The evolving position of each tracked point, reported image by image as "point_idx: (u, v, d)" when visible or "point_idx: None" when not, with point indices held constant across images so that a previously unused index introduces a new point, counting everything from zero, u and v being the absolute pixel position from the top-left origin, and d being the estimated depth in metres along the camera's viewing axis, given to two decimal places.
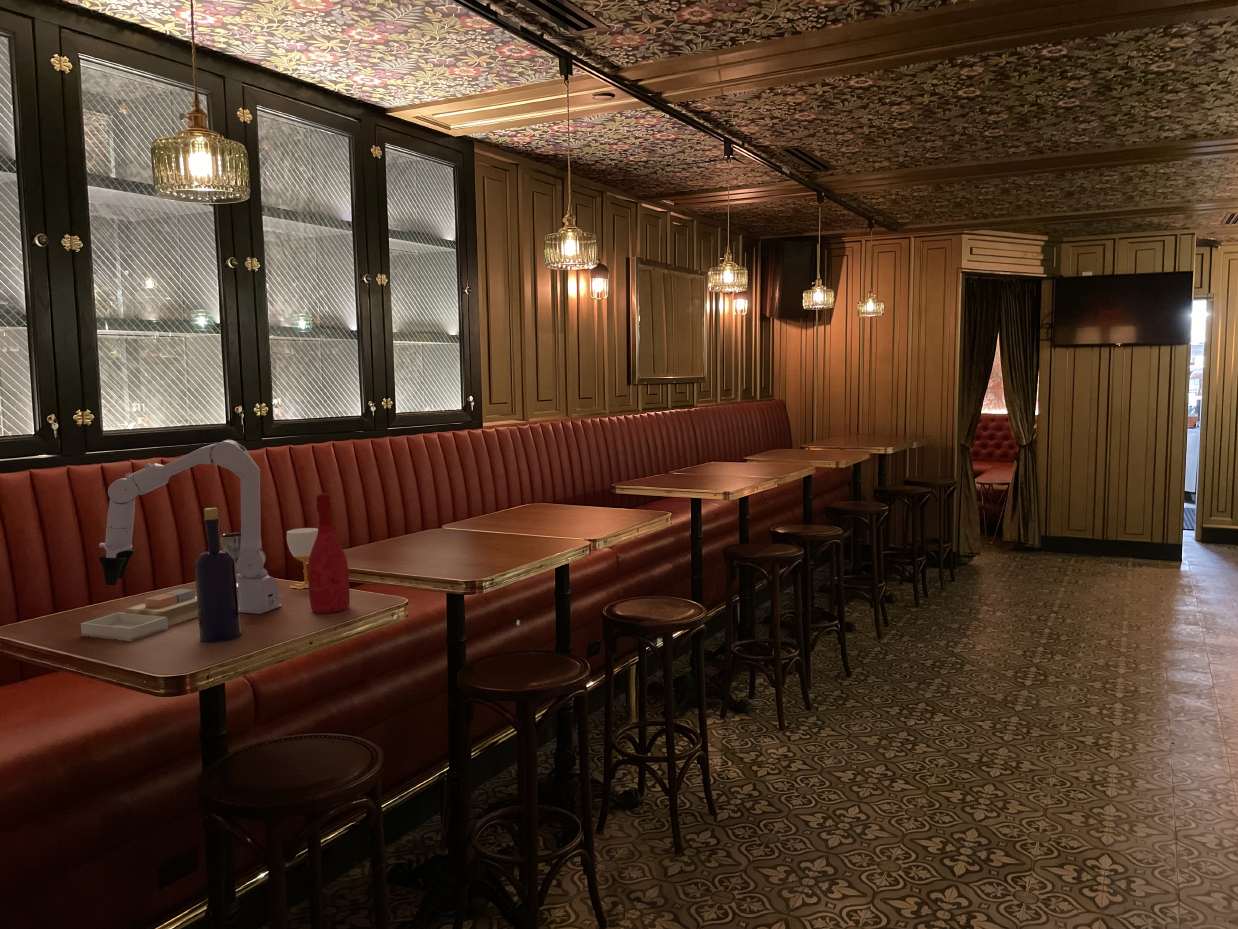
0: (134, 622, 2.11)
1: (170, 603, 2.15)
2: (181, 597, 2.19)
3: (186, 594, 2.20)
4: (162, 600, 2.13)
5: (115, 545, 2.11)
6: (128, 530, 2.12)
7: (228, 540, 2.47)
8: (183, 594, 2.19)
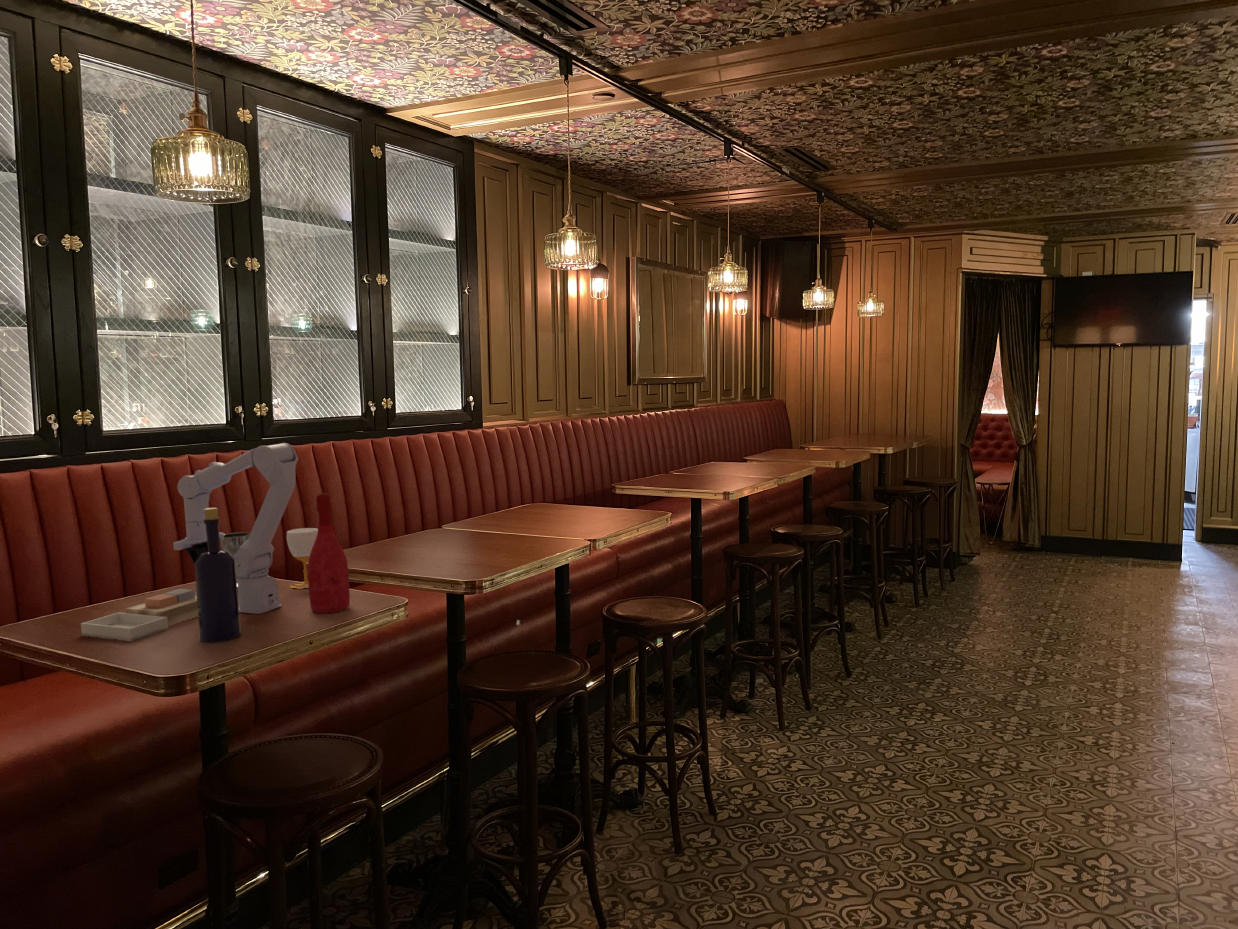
0: (134, 622, 2.11)
1: (170, 603, 2.15)
2: (181, 597, 2.19)
3: (186, 594, 2.20)
4: (162, 600, 2.13)
5: (189, 538, 2.24)
6: (199, 523, 2.24)
7: (228, 540, 2.47)
8: (183, 594, 2.19)
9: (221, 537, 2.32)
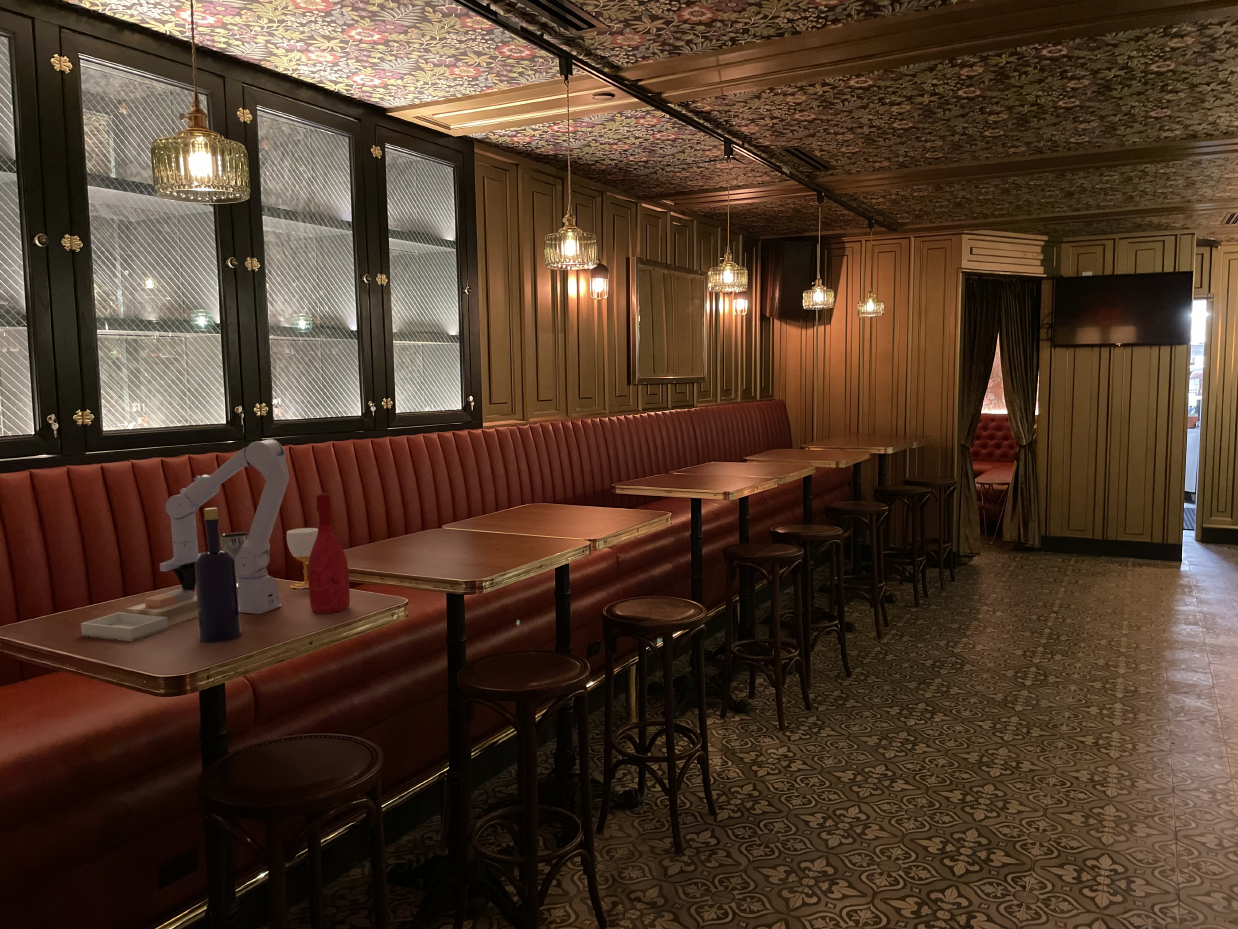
0: (134, 622, 2.11)
1: (170, 603, 2.15)
2: (180, 597, 2.18)
3: (185, 594, 2.19)
4: (162, 600, 2.13)
5: (176, 558, 2.20)
6: (186, 544, 2.20)
7: (228, 540, 2.47)
8: (182, 594, 2.19)
9: None
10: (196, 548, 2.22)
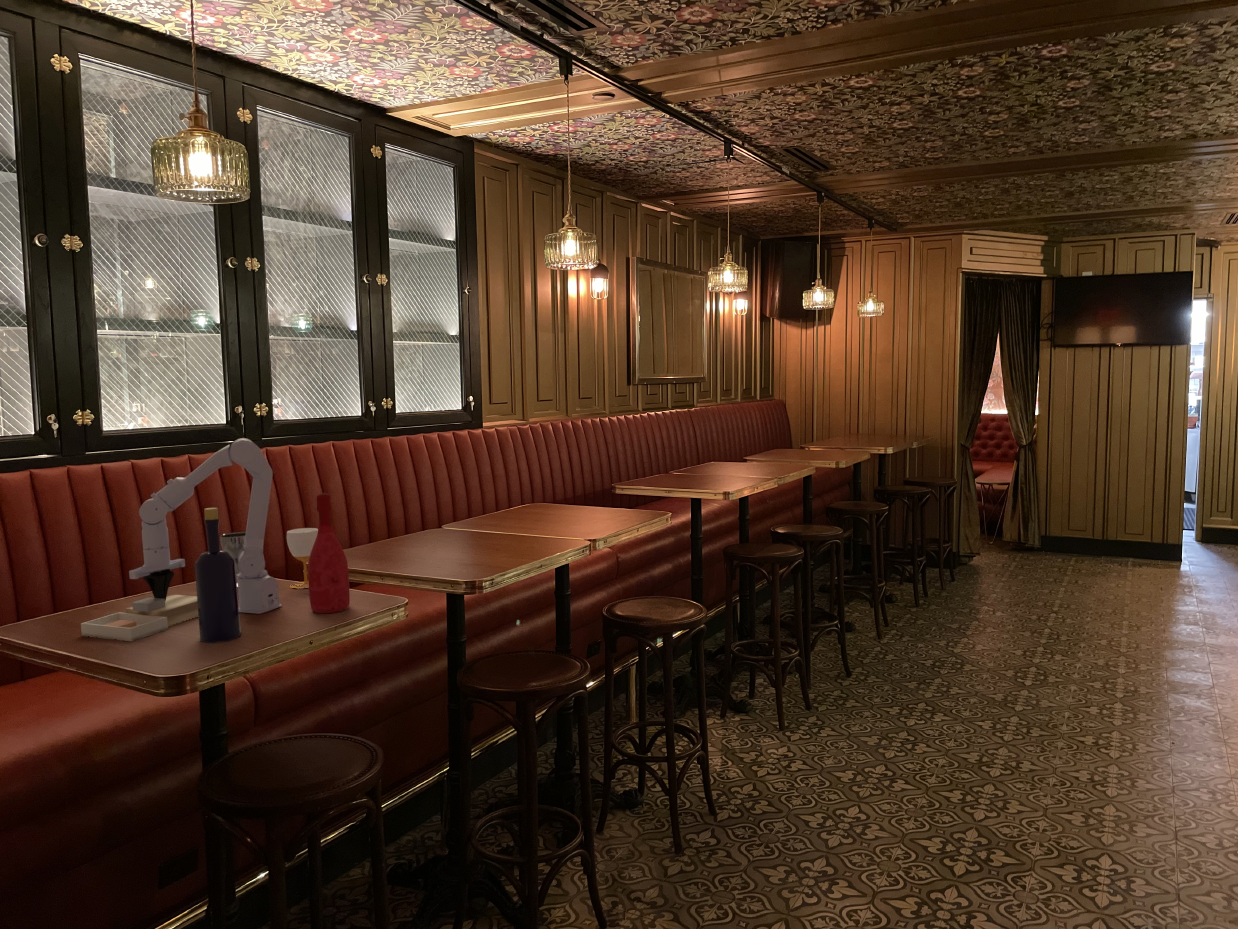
0: None
1: (124, 626, 2.04)
2: (151, 606, 2.10)
3: (156, 603, 2.11)
4: None
5: (147, 566, 2.12)
6: (157, 550, 2.12)
7: (228, 540, 2.47)
8: (152, 603, 2.11)
9: (182, 564, 2.20)
10: (168, 555, 2.14)
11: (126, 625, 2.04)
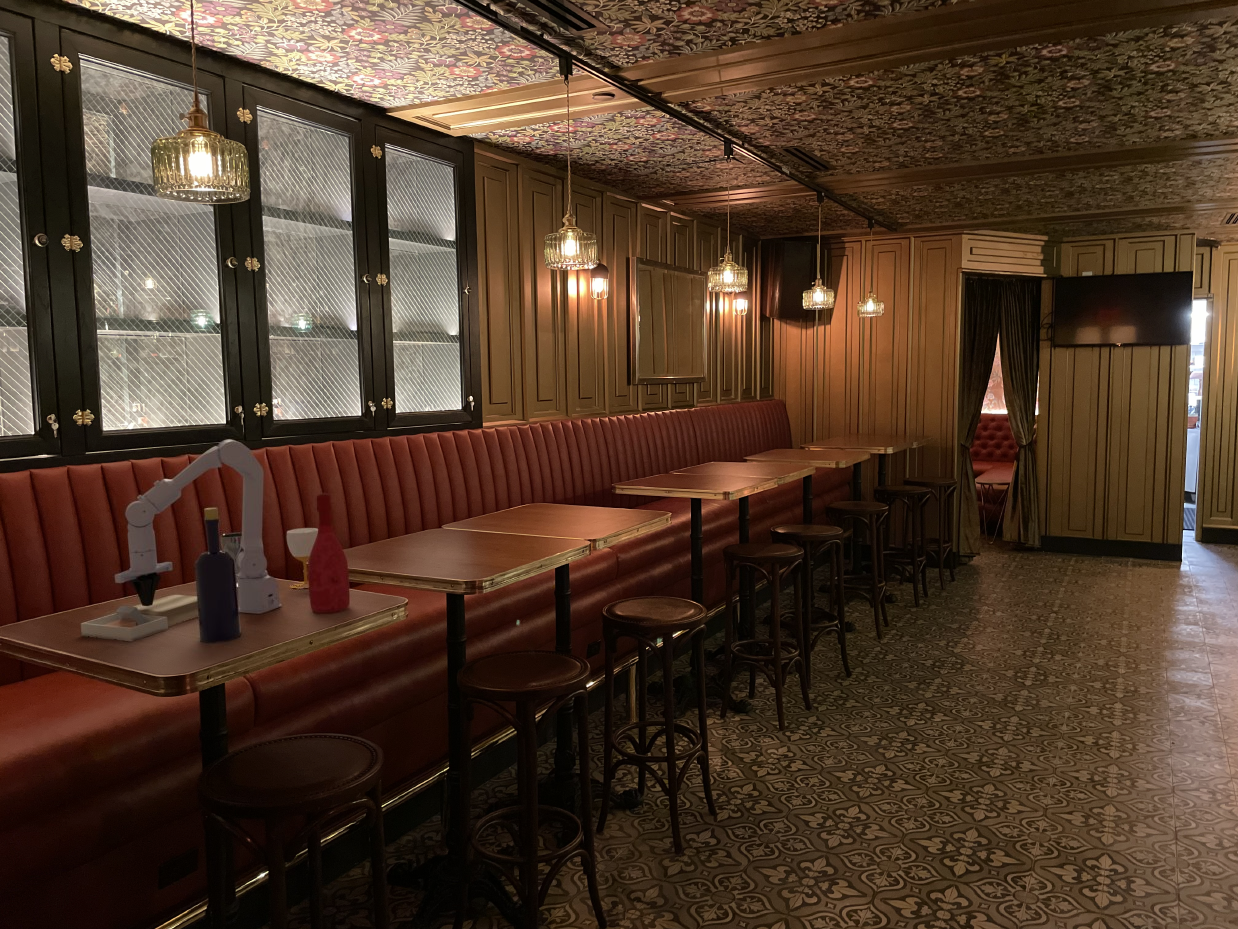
0: None
1: (124, 626, 2.04)
2: (141, 622, 2.08)
3: (137, 619, 2.07)
4: None
5: (133, 569, 2.09)
6: (143, 554, 2.08)
7: (228, 540, 2.47)
8: (138, 622, 2.07)
9: (169, 567, 2.17)
10: (154, 558, 2.11)
11: (126, 625, 2.04)
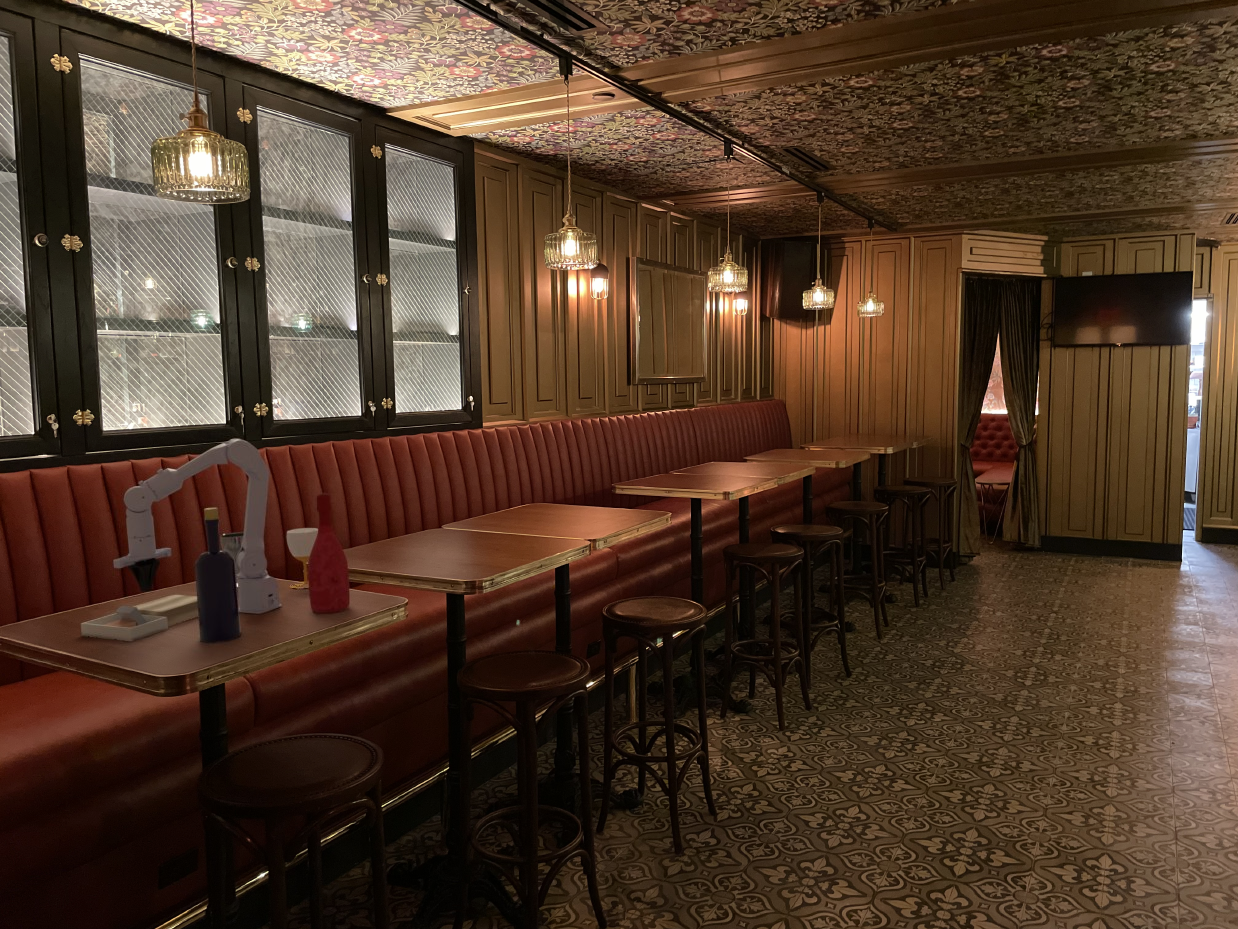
0: None
1: (124, 626, 2.04)
2: (141, 622, 2.08)
3: (137, 619, 2.07)
4: None
5: (132, 555, 2.08)
6: (142, 539, 2.08)
7: (228, 540, 2.47)
8: (138, 622, 2.07)
9: (168, 553, 2.16)
10: (153, 543, 2.10)
11: (126, 625, 2.04)
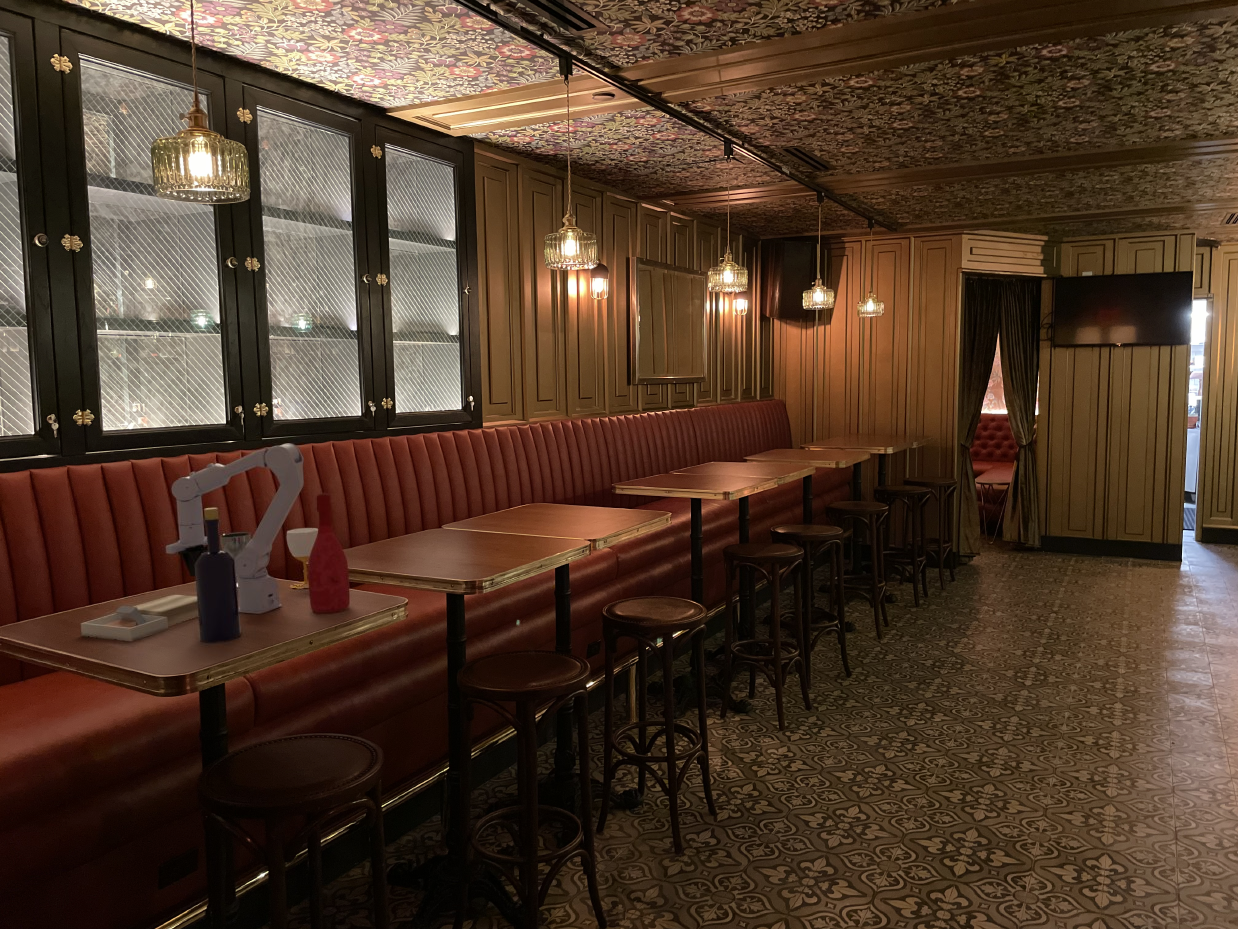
0: None
1: (124, 626, 2.04)
2: (141, 622, 2.08)
3: (137, 619, 2.07)
4: None
5: (183, 541, 2.19)
6: (192, 526, 2.19)
7: (228, 540, 2.47)
8: (138, 622, 2.07)
9: None
10: (202, 531, 2.22)
11: (126, 625, 2.04)
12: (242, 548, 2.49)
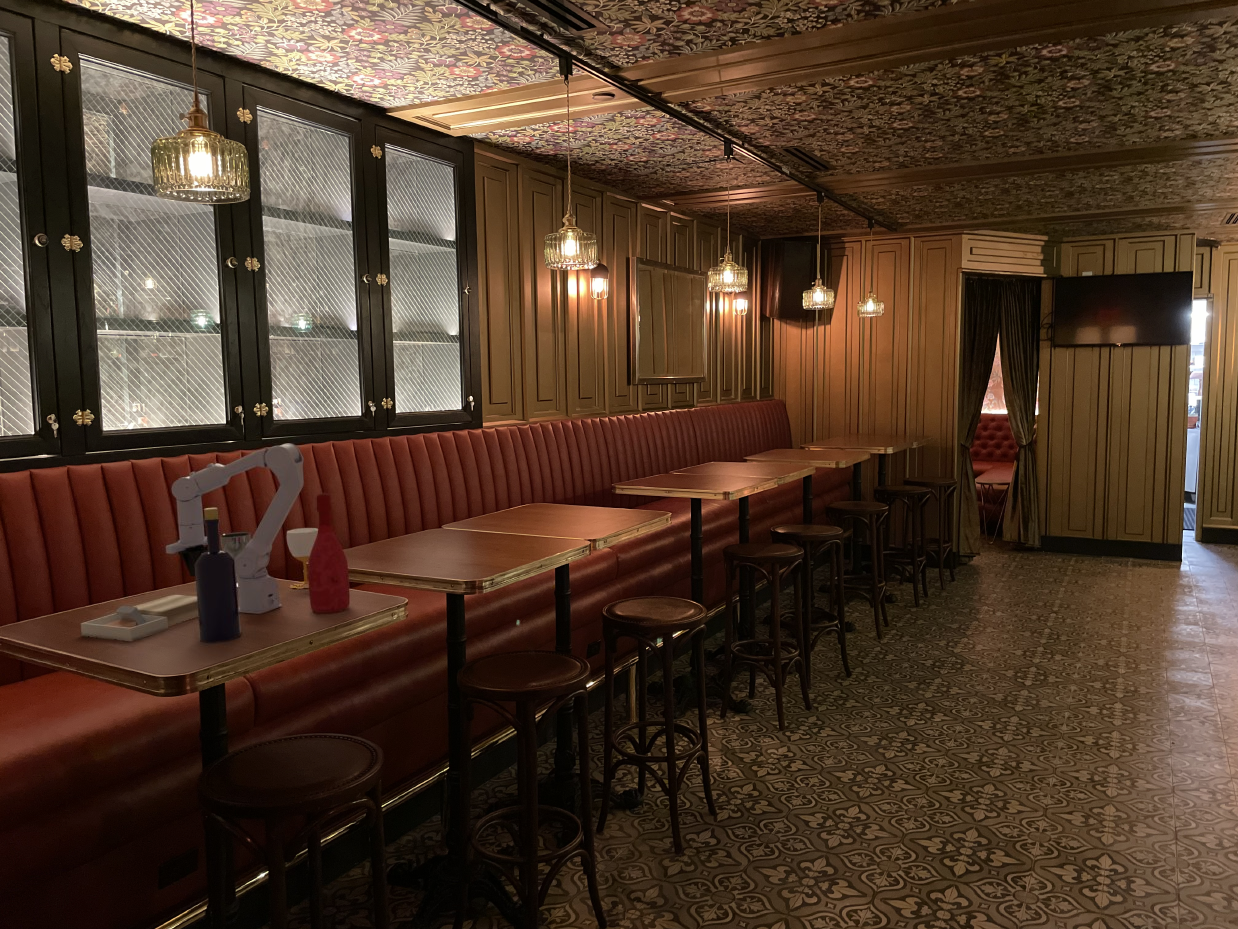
0: None
1: (124, 626, 2.04)
2: (141, 622, 2.08)
3: (137, 619, 2.07)
4: None
5: (183, 541, 2.19)
6: (192, 526, 2.19)
7: (228, 540, 2.47)
8: (138, 622, 2.07)
9: None
10: (202, 531, 2.22)
11: (126, 625, 2.04)
12: (242, 548, 2.49)
